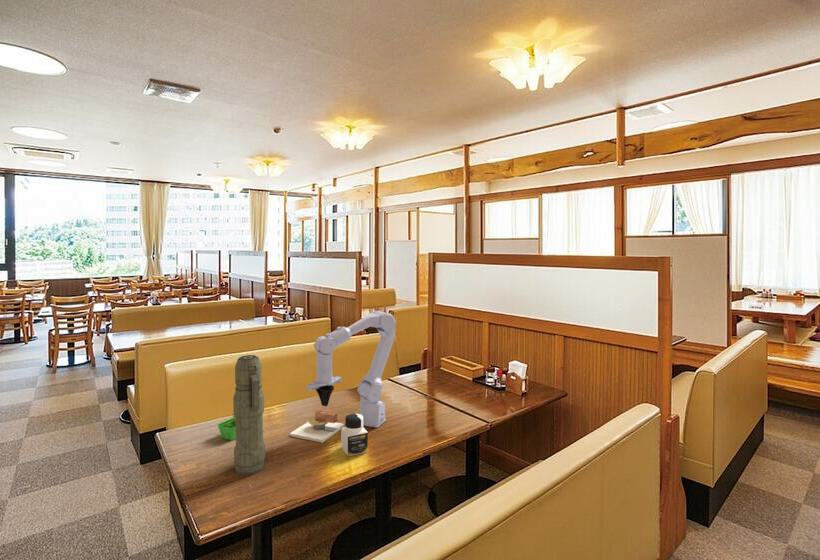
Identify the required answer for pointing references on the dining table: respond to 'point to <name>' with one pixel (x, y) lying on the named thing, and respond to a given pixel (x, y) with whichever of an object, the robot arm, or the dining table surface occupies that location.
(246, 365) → the thermos
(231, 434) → the fruit basket
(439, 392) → the dining table surface
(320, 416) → the lever handle
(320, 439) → the board
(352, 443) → the medicine bottle
